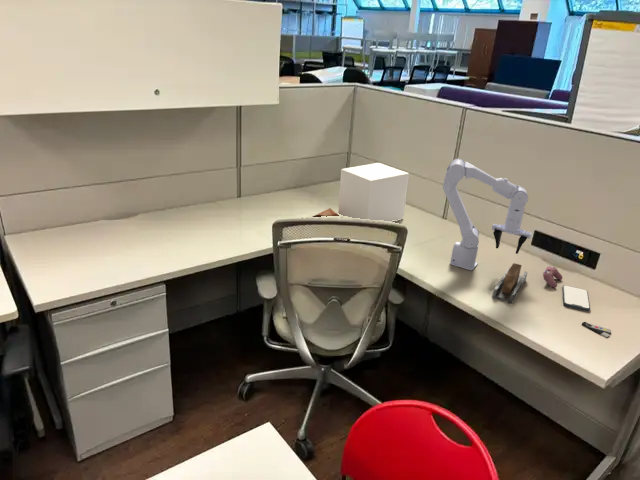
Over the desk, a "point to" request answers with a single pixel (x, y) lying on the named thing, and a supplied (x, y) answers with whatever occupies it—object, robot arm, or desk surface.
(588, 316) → the desk surface
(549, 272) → the video game controller
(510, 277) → the brown rectangular block
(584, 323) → the usb flash drive
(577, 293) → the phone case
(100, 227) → the desk surface
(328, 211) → the sunglasses case
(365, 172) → the cube
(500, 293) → the rail
